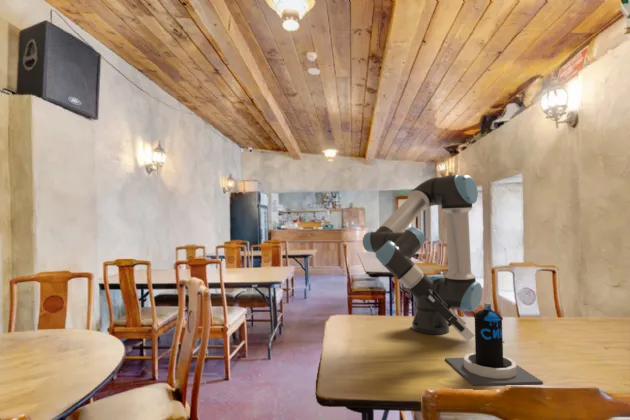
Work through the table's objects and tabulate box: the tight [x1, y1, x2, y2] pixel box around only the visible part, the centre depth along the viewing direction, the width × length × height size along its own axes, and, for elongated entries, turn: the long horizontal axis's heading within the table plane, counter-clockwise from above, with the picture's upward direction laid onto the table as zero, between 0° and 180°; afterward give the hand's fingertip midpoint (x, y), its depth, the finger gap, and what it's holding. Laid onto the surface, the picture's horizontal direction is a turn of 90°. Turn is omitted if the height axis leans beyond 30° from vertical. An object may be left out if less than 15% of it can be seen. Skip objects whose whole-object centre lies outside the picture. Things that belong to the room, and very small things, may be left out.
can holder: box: [444, 352, 544, 387], centre depth 115 cm, size 20×20×3 cm
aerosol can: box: [473, 302, 504, 368], centre depth 115 cm, size 8×8×20 cm
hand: (466, 331), depth 116 cm, fingers open, 13 cm apart
